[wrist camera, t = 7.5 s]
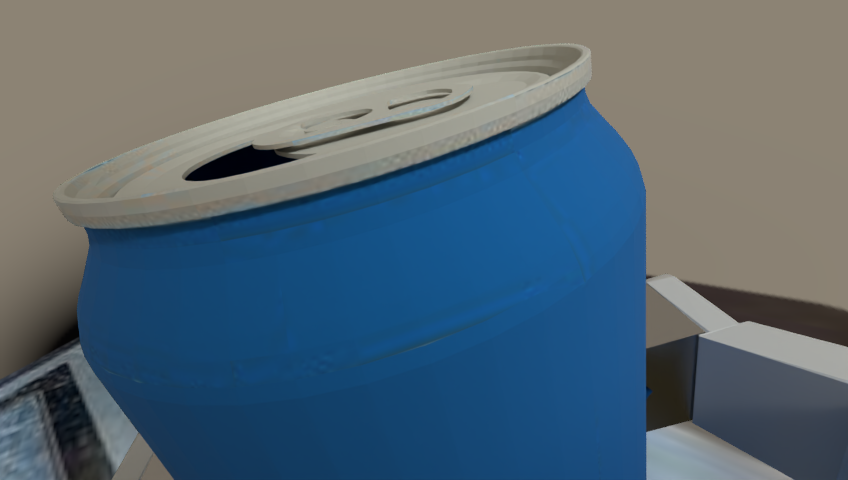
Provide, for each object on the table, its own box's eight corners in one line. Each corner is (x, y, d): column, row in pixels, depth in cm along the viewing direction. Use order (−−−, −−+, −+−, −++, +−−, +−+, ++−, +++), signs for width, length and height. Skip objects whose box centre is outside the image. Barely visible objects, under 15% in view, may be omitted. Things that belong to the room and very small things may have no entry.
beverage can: (362, 515, 13) (176, 124, 8) (566, 460, 13) (514, 38, 8) (358, 897, 7) (-369, 353, 2) (727, 792, 7) (920, 19, 2)
